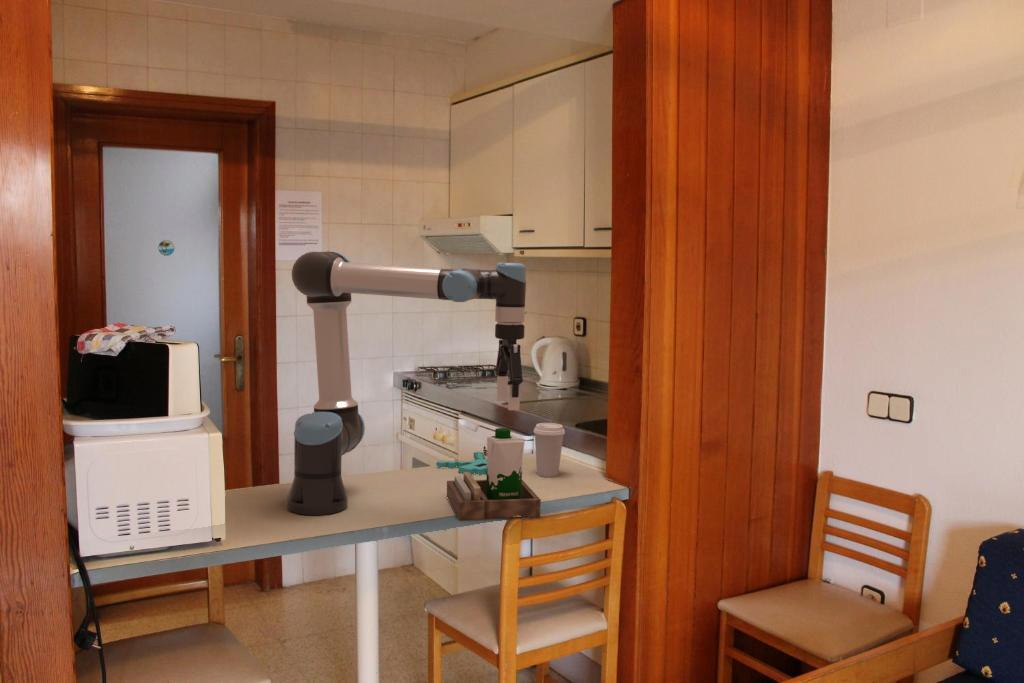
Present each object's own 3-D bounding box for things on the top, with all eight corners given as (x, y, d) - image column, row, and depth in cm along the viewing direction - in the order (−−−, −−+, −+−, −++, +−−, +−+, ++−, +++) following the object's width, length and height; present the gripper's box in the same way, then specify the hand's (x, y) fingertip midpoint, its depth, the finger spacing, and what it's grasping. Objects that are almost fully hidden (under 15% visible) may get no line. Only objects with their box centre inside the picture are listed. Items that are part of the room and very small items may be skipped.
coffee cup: (526, 471, 266) (528, 423, 264) (555, 469, 270) (556, 421, 268) (539, 479, 257) (541, 429, 256) (568, 477, 261) (570, 427, 259)
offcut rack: (459, 520, 216) (459, 502, 215) (446, 497, 235) (447, 480, 235) (540, 517, 220) (540, 499, 220) (520, 494, 240) (521, 478, 240)
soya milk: (512, 500, 234) (515, 427, 232) (525, 510, 226) (528, 434, 224) (481, 502, 231) (484, 428, 229) (493, 512, 223) (496, 435, 221)
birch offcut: (473, 517, 219) (474, 488, 218) (462, 499, 234) (463, 472, 233) (479, 517, 219) (480, 488, 218) (468, 499, 235) (469, 472, 234)
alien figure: (436, 469, 267) (487, 481, 255) (436, 461, 267) (487, 473, 255) (477, 458, 283) (527, 469, 271) (478, 451, 283) (528, 462, 271)
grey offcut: (464, 518, 218) (465, 492, 218) (453, 499, 234) (454, 476, 233) (470, 517, 219) (471, 492, 218) (459, 499, 234) (460, 475, 233)
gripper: (536, 327, 213) (533, 413, 215) (513, 319, 237) (510, 396, 239) (506, 327, 211) (504, 414, 213) (485, 319, 235) (484, 397, 237)
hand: (507, 405), depth 226 cm, fingers open, 13 cm apart
